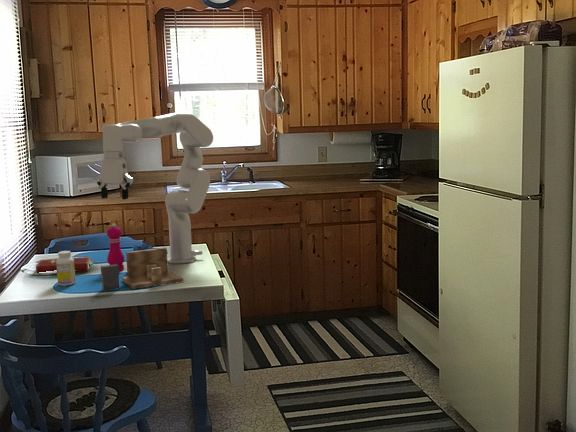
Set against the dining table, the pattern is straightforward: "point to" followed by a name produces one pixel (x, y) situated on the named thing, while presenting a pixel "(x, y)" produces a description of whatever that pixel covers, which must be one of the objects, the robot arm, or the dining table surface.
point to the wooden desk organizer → (149, 269)
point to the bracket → (110, 277)
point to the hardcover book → (50, 265)
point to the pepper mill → (115, 247)
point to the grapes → (141, 247)
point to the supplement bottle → (65, 269)
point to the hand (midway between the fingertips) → (114, 198)
